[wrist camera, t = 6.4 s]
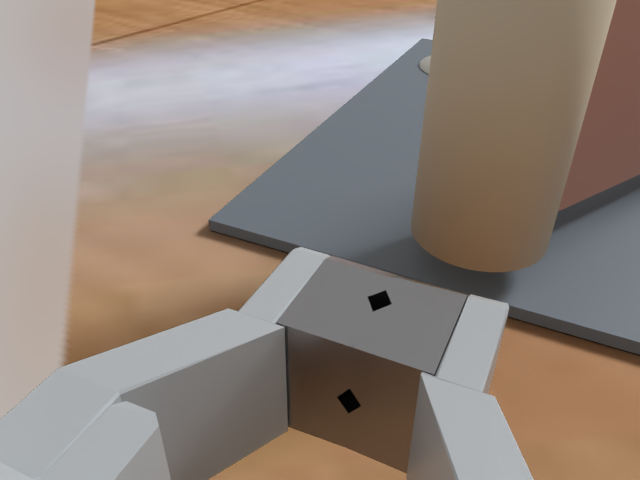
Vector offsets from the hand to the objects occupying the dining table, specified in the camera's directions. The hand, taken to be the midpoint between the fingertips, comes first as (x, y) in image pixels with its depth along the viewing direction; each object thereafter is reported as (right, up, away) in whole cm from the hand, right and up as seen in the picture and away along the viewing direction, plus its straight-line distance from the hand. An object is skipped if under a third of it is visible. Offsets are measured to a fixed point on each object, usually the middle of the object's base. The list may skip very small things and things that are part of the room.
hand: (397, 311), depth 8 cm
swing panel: (+7, +3, +12) cm, 14 cm away
